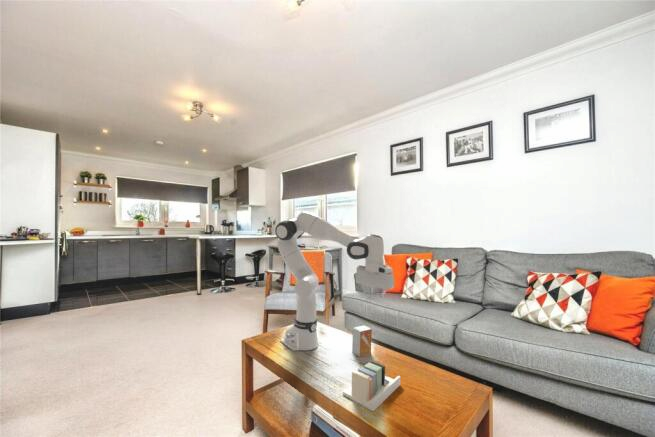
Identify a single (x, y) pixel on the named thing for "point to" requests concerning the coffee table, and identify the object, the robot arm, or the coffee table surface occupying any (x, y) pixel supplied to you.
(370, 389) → the slotted holder
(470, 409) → the coffee table surface
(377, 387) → the sage green cuboid
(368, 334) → the small box
